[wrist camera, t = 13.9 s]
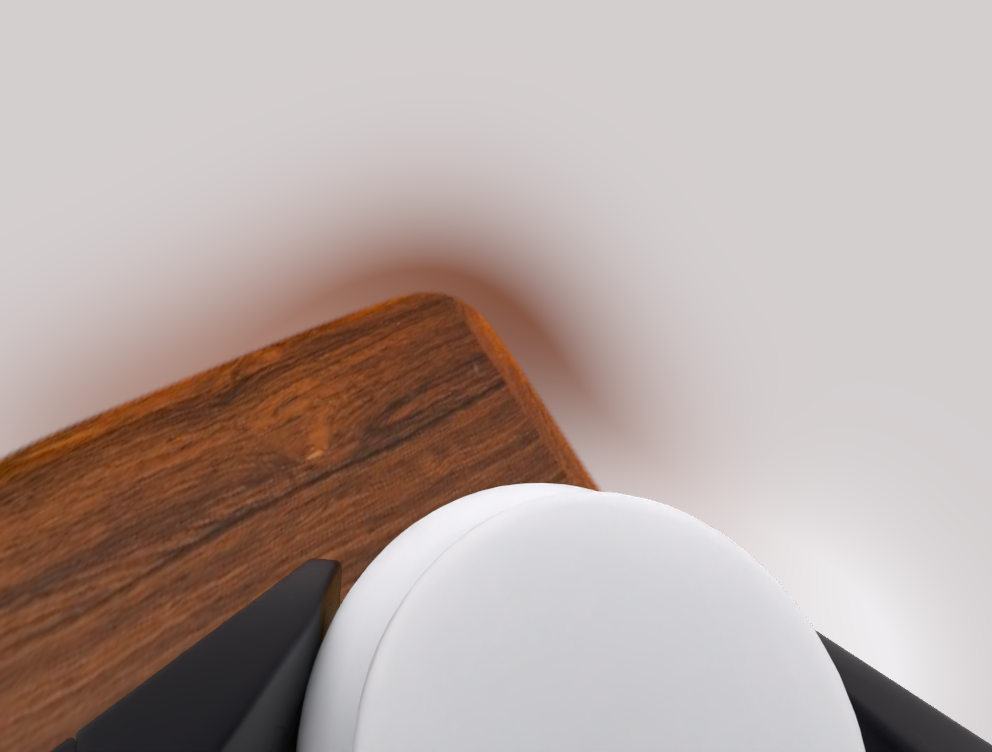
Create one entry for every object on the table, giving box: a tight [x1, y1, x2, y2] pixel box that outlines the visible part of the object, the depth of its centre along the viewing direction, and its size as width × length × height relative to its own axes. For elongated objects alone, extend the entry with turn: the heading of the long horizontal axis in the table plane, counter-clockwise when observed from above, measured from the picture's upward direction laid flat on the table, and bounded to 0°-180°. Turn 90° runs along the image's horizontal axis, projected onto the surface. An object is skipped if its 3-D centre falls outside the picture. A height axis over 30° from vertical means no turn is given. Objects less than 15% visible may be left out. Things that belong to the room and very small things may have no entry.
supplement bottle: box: [296, 483, 865, 752], centre depth 9 cm, size 6×6×10 cm
